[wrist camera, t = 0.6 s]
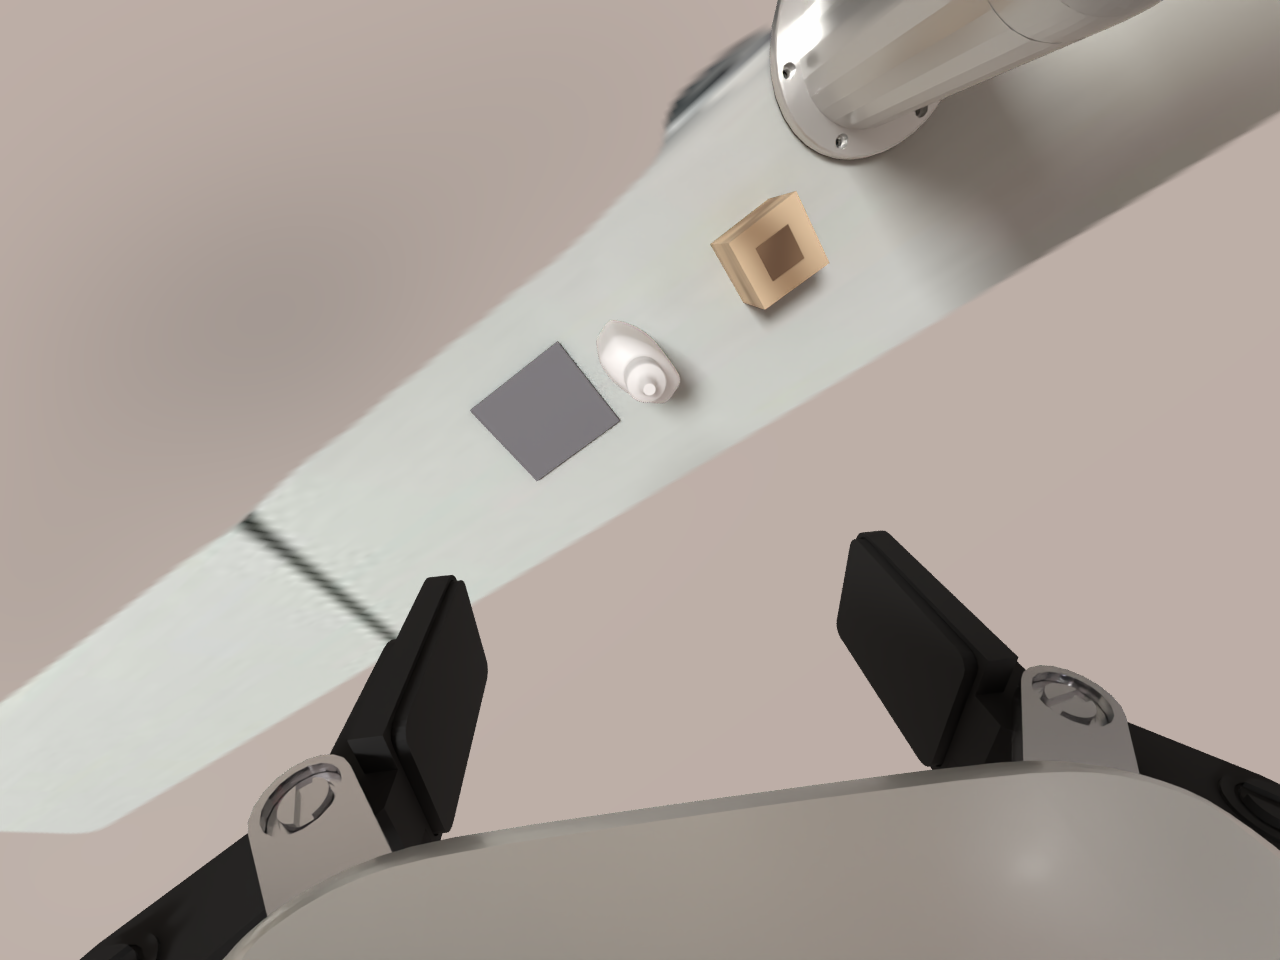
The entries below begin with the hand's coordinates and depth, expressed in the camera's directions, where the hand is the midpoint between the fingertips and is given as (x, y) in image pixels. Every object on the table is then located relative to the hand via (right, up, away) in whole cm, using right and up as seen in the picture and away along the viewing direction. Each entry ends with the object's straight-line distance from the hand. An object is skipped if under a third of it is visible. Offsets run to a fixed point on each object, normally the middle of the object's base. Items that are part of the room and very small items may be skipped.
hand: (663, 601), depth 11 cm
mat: (-8, +8, +27) cm, 30 cm away
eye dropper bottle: (-1, +13, +26) cm, 29 cm away
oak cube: (+8, +20, +24) cm, 32 cm away
